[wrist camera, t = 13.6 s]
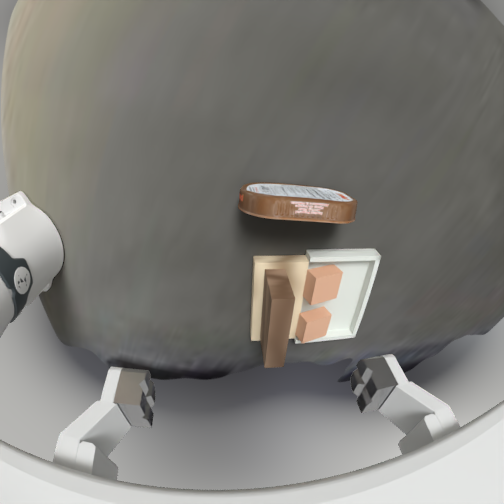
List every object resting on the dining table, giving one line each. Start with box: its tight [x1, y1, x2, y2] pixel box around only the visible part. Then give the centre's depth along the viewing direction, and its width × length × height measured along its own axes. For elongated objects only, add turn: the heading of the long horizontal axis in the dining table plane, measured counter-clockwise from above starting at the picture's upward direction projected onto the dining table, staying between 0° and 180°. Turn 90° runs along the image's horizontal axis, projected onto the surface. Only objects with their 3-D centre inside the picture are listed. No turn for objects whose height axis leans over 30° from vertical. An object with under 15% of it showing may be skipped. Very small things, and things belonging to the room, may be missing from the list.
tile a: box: [303, 264, 343, 305], centre depth 43 cm, size 5×5×2 cm
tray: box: [294, 249, 381, 343], centre depth 46 cm, size 12×18×2 cm, turn 178°
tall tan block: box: [260, 269, 295, 368], centre depth 41 cm, size 3×14×7 cm, turn 178°
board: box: [250, 255, 309, 341], centre depth 45 cm, size 8×16×2 cm, turn 178°
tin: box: [238, 183, 357, 224], centre depth 34 cm, size 15×3×8 cm, turn 85°
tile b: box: [295, 306, 332, 343], centre depth 47 cm, size 5×5×2 cm
